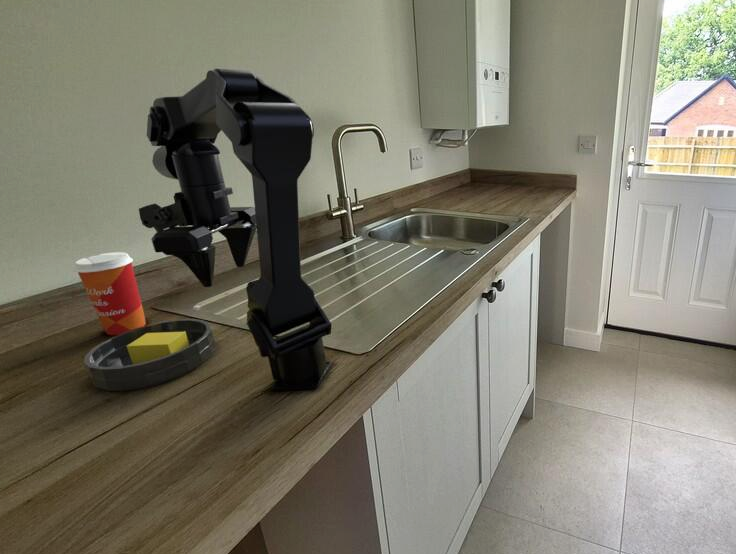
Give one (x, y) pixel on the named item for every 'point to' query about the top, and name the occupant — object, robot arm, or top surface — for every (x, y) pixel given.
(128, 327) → the paper cup
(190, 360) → the pan
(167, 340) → the sponge
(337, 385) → the top surface
